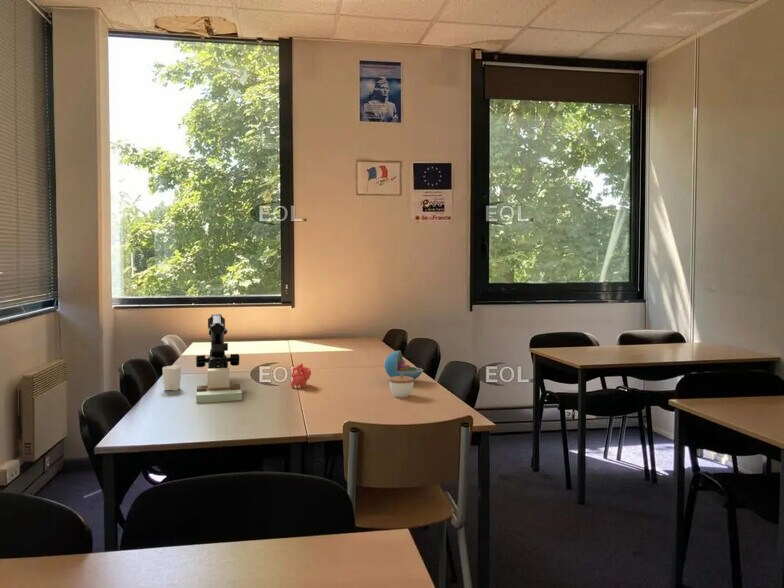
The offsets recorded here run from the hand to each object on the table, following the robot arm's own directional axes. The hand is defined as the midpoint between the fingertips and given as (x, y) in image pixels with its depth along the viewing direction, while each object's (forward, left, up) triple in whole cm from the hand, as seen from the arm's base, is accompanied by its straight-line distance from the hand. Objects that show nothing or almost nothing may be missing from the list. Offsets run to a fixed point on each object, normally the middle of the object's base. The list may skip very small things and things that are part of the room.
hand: (218, 375), depth 267 cm
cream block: (+3, +3, -4) cm, 6 cm away
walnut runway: (+5, +5, -7) cm, 10 cm away
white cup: (+8, -20, -7) cm, 23 cm away
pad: (+12, +12, -7) cm, 18 cm away
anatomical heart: (-26, +26, -7) cm, 37 cm away
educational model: (-60, +62, -7) cm, 86 cm away
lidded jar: (-32, +75, -7) cm, 82 cm away
